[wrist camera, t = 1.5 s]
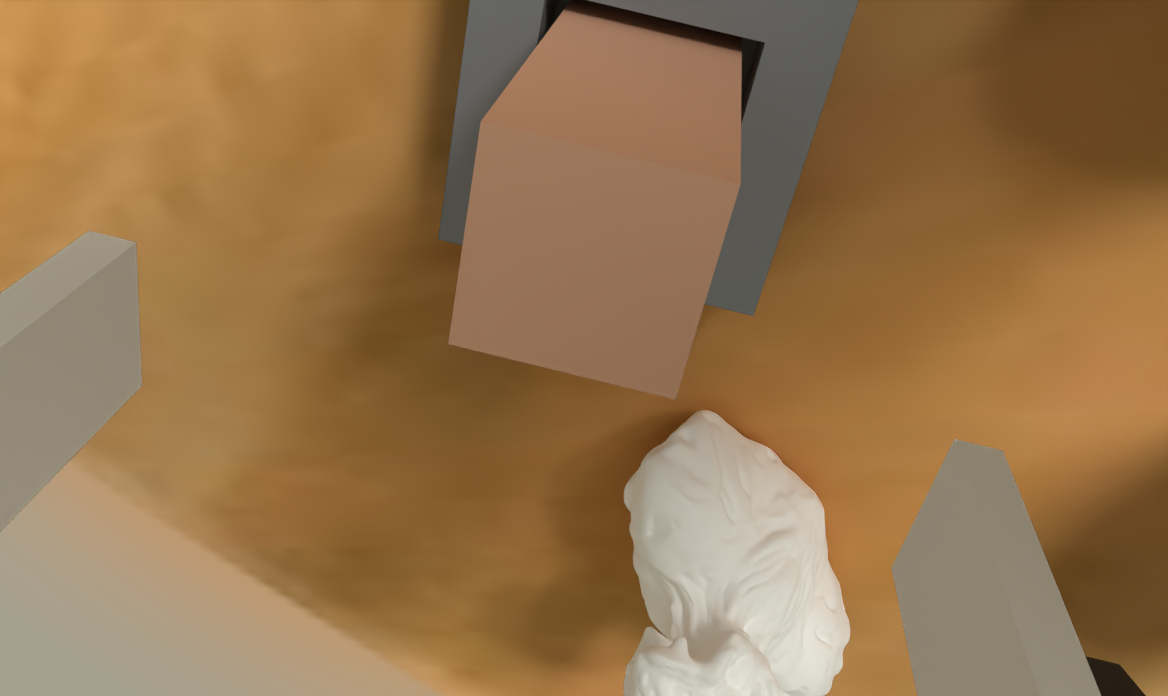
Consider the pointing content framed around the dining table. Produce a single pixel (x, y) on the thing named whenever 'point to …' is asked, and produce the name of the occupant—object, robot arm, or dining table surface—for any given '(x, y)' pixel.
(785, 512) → the bust
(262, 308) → the dining table surface
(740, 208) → the holder
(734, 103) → the block
